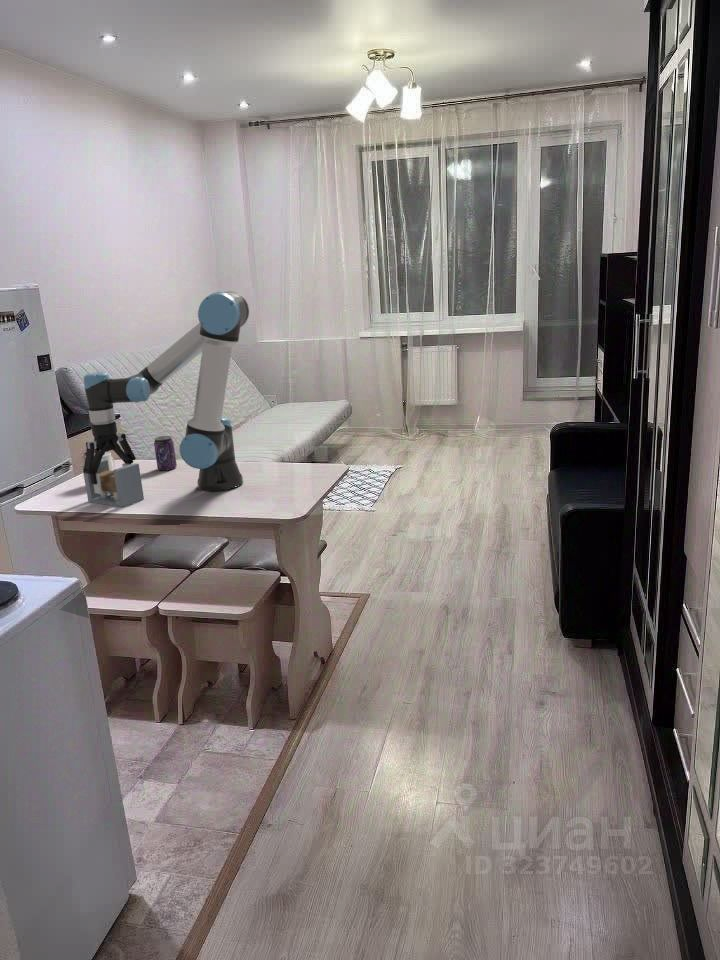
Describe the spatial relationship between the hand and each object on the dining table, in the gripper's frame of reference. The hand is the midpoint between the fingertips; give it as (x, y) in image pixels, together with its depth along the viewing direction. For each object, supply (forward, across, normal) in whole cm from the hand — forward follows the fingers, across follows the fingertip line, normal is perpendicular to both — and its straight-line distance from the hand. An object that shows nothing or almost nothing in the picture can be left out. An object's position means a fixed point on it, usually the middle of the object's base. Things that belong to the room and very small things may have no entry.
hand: (114, 488), depth 233 cm
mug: (+4, -14, -22) cm, 26 cm away
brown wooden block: (0, 0, 0) cm, 0 cm away
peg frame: (+4, 0, 0) cm, 4 cm away
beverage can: (+4, -36, -14) cm, 39 cm away
